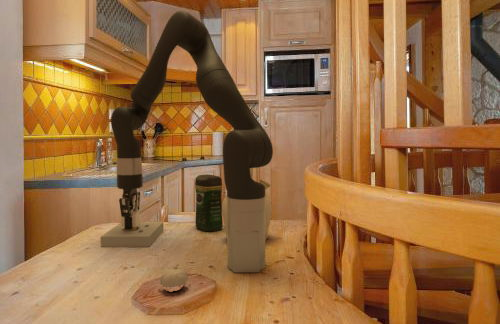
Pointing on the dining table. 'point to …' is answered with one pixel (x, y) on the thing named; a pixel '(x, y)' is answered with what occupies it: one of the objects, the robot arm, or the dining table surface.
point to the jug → (267, 207)
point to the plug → (134, 220)
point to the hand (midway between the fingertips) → (131, 227)
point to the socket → (132, 235)
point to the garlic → (174, 277)
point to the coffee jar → (208, 202)
